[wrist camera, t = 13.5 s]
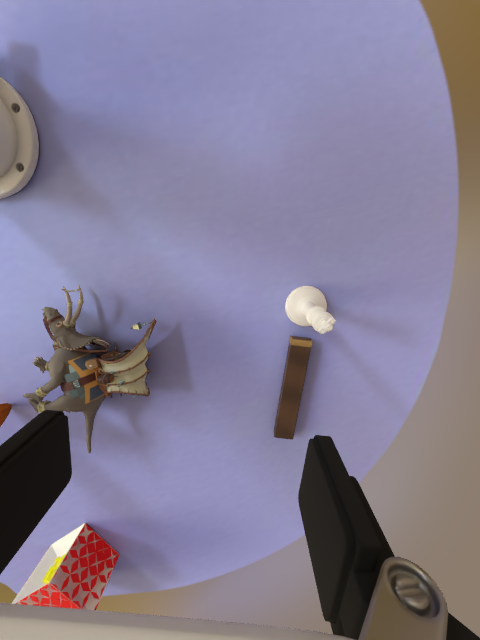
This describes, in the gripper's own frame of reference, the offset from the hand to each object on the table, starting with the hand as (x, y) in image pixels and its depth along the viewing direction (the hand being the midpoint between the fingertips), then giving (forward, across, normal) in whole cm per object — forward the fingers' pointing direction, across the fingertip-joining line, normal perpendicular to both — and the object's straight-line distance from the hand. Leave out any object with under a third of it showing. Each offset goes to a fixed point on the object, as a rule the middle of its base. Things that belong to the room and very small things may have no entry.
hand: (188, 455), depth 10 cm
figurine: (+24, +15, +8) cm, 29 cm away
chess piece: (+24, -10, -2) cm, 26 cm away
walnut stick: (+24, -9, +9) cm, 27 cm away
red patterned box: (+24, +19, +42) cm, 52 cm away
